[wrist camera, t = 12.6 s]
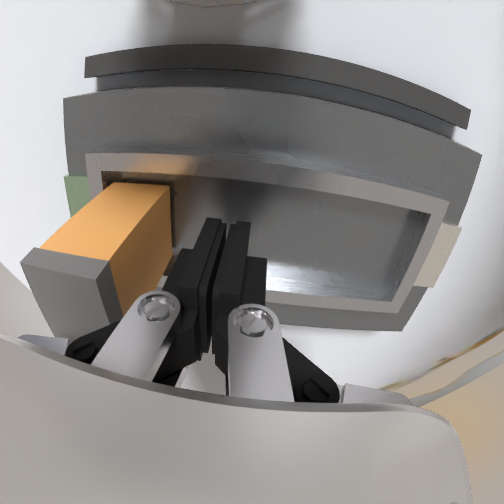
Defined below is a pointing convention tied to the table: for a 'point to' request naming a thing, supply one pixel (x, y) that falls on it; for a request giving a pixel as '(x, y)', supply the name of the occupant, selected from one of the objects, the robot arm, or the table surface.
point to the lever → (102, 259)
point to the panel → (286, 190)
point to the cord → (279, 72)
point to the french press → (213, 2)
